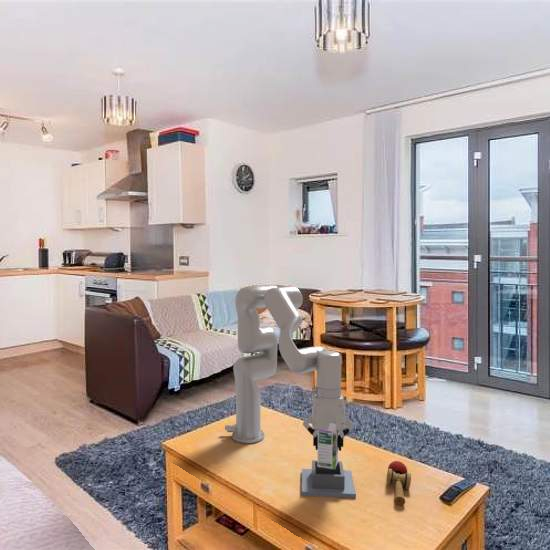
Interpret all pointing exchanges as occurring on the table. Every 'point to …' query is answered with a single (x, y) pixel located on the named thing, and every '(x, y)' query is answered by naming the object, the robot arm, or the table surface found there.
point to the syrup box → (328, 447)
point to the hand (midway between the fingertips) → (328, 448)
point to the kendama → (399, 480)
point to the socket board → (328, 481)
